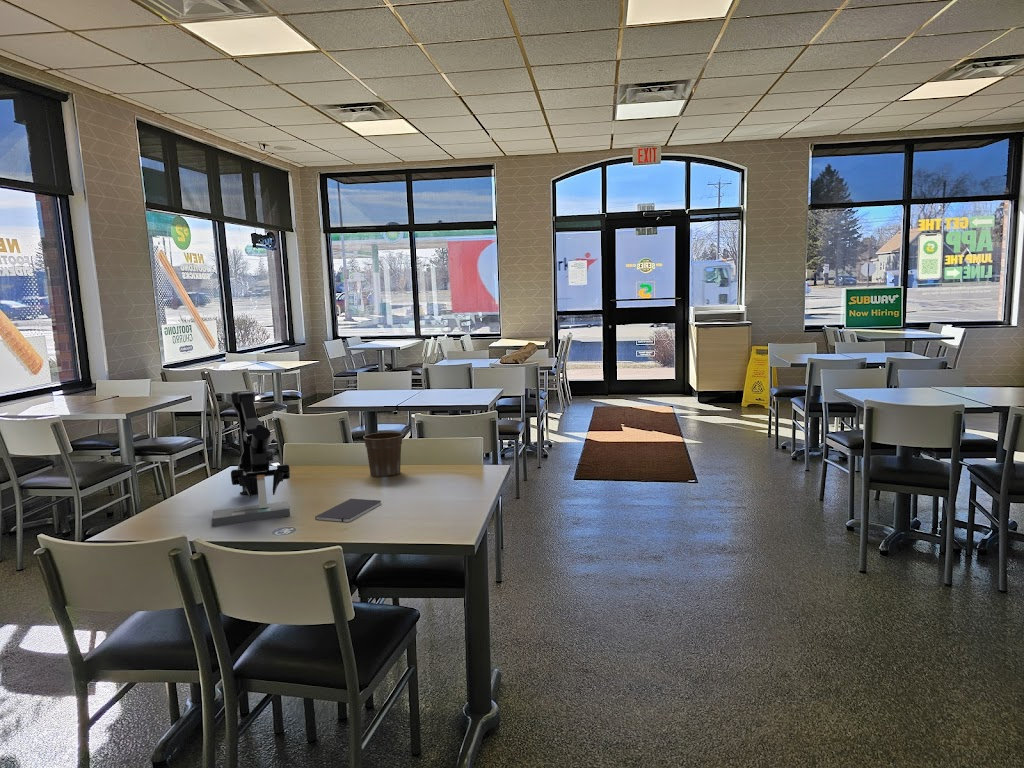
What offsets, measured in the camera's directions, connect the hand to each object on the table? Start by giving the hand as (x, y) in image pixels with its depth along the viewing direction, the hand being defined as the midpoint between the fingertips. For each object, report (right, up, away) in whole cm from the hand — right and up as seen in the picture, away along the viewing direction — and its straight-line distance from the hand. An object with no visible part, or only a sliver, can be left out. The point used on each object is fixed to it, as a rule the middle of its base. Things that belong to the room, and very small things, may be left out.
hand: (262, 495), depth 233 cm
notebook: (+29, -6, +3) cm, 29 cm away
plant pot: (+31, 0, +54) cm, 62 cm away
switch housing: (-4, -7, +1) cm, 8 cm away
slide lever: (0, -4, +2) cm, 4 cm away
